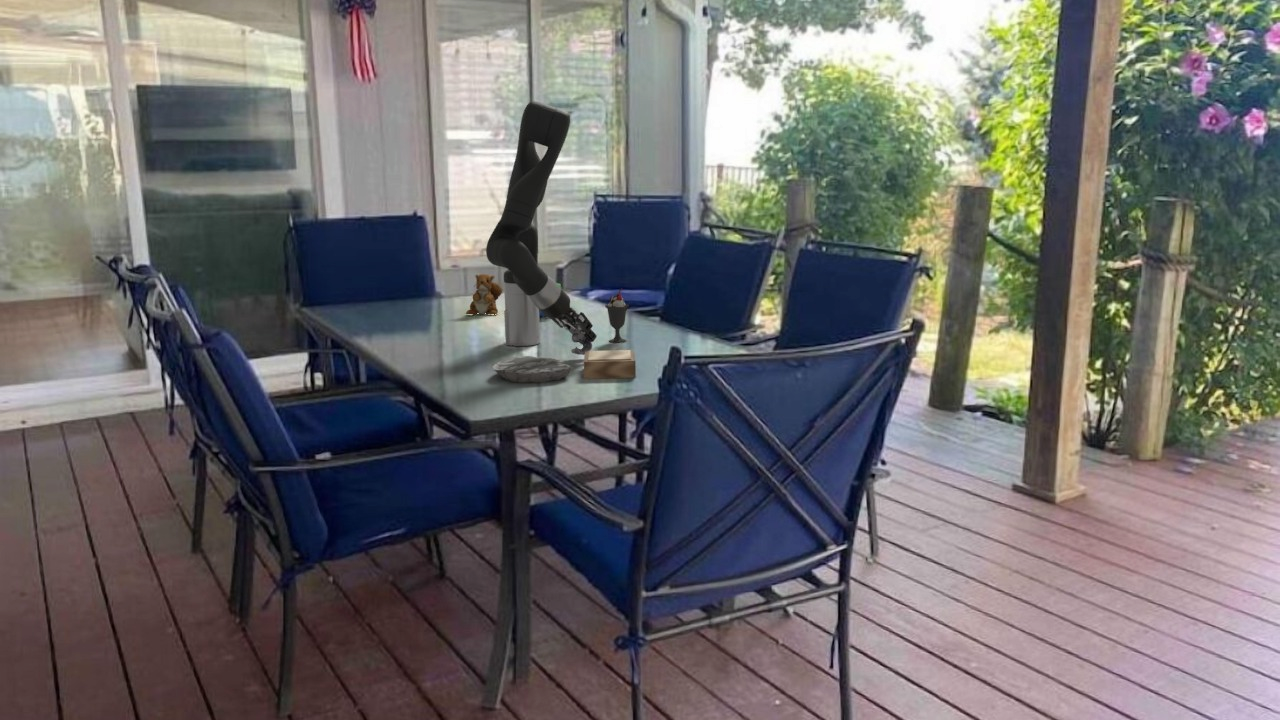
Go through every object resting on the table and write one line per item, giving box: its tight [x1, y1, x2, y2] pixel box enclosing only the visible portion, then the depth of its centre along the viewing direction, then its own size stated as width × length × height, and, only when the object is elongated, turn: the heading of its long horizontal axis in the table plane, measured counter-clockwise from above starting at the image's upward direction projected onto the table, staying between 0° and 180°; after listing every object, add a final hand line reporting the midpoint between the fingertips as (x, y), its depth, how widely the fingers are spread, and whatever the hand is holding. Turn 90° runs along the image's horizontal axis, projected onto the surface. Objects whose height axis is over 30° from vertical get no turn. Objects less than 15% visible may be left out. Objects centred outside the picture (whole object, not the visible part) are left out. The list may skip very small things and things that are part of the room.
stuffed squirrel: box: [465, 273, 503, 316], centre depth 318 cm, size 10×14×13 cm
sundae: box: [604, 288, 630, 344], centre depth 267 cm, size 7×7×15 cm
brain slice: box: [491, 355, 572, 384], centre depth 228 cm, size 20×17×3 cm
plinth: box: [583, 349, 637, 380], centre depth 231 cm, size 12×12×4 cm
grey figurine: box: [569, 322, 593, 356], centre depth 246 cm, size 5×5×10 cm
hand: (586, 337), depth 248 cm, fingers closed on grey figurine, 5 cm apart
